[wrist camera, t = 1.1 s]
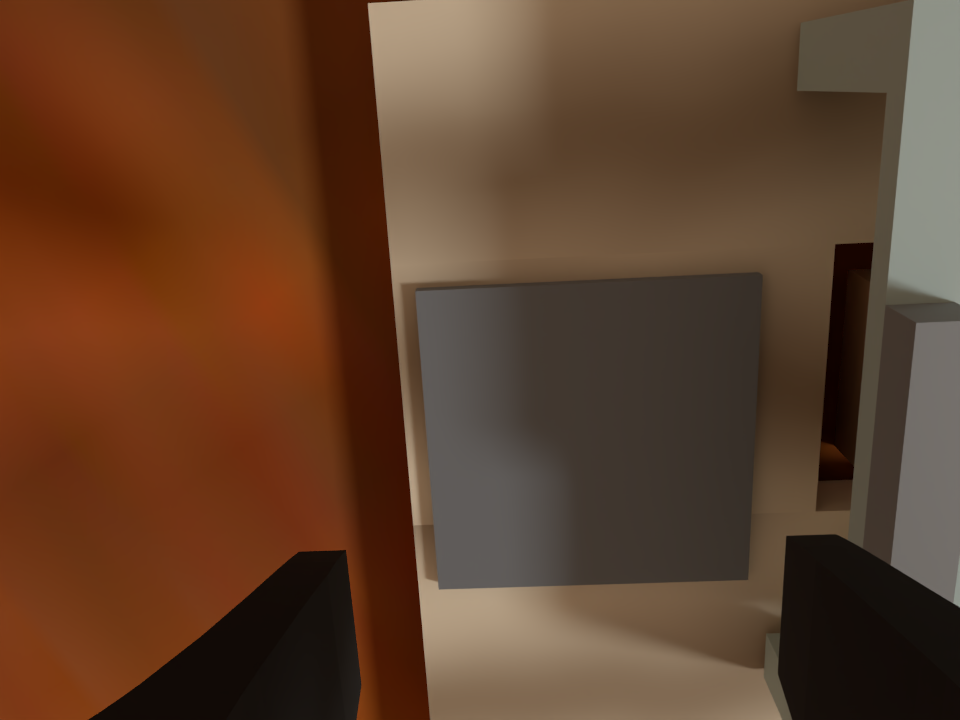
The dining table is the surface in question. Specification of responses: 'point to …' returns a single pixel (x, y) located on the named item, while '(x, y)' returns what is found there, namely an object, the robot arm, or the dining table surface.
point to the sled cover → (904, 289)
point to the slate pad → (591, 429)
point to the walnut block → (852, 361)
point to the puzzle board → (613, 255)
